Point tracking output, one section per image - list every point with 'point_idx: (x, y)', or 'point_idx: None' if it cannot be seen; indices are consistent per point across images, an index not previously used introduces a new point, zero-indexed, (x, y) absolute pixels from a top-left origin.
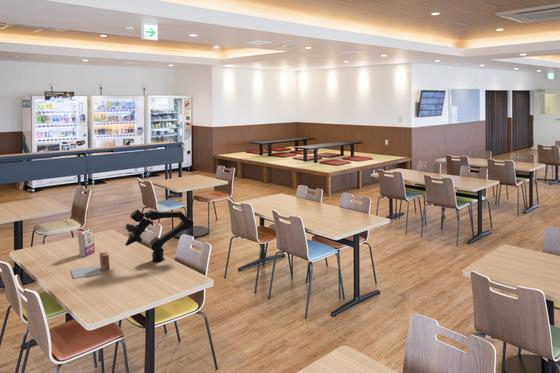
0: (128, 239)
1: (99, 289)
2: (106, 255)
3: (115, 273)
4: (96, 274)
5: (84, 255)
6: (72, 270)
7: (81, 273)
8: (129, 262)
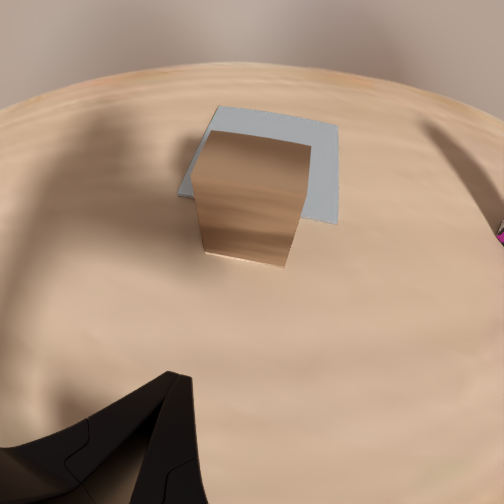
0: (144, 466)
1: (37, 153)
2: (197, 160)
3: (120, 257)
4: (186, 173)
5: (500, 228)
6: (325, 125)
7: (255, 133)
8: (278, 434)
